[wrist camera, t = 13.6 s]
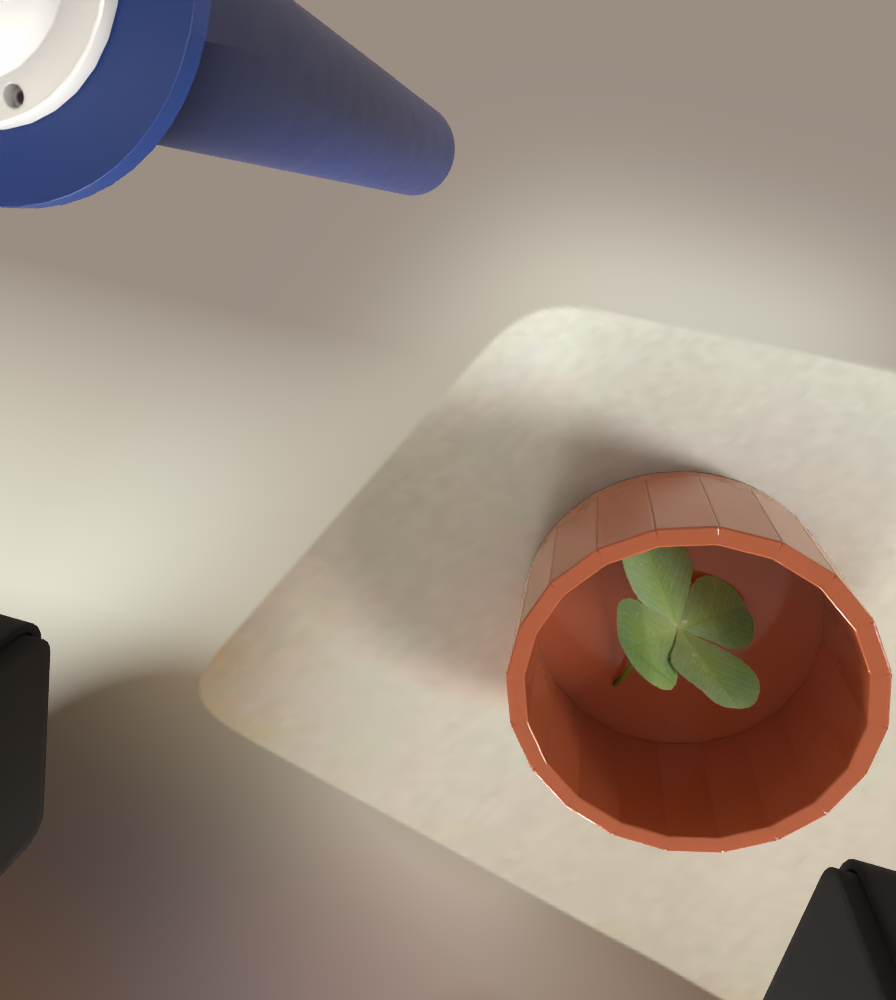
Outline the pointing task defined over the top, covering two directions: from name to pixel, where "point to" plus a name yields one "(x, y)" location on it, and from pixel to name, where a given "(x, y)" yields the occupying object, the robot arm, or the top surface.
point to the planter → (686, 709)
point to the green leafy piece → (685, 628)
